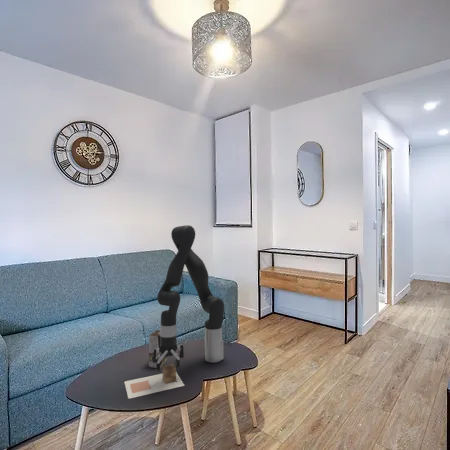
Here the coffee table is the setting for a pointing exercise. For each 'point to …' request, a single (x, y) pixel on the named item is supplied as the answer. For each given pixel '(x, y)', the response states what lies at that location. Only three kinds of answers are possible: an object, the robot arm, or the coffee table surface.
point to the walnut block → (169, 373)
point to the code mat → (150, 385)
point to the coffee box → (155, 343)
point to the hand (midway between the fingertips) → (167, 369)
